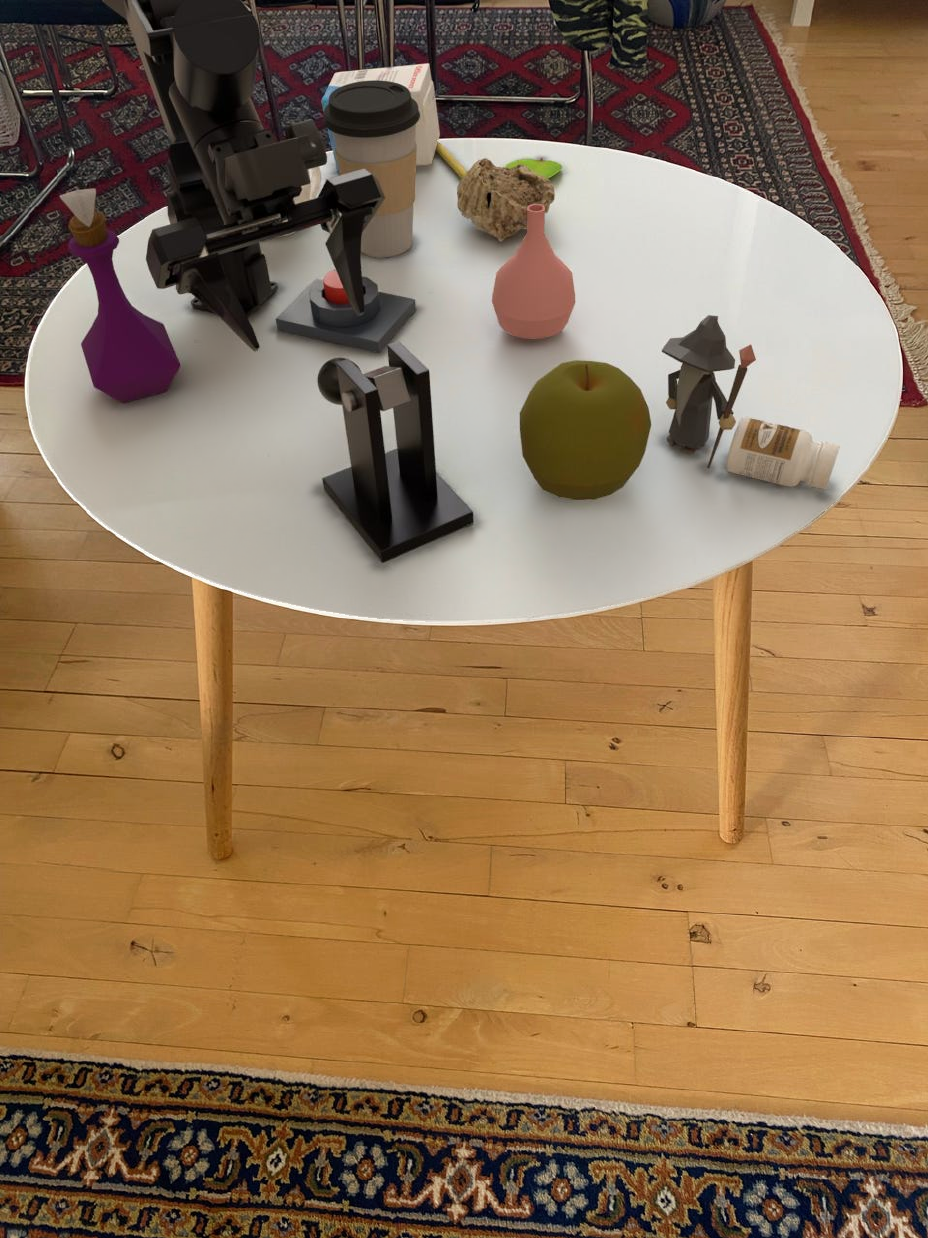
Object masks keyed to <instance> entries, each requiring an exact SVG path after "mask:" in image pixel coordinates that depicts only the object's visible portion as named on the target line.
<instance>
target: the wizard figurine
mask: <svg viewBox="0 0 928 1238" xmlns="http://www.w3.org/2000/svg"><path fill="white" fill-rule="evenodd" d="M738 351H739V352H738V353H739V361H740V364H738V367H737V370H736V373H735V376H734V380H733V383H732V386H731V390H730V393H729V395H728V399H727V397H726V396H725V395H724V393H723V391H722V389H721V388H720V386H719V384H718V383H717V380H716V375H715V372H722V371H730V370H733V369H735V365H736V359H735V357H734V355H733V354H732V353H731V352H730V350H729V349H728V347H727V338H726V334H725V333H724V331H723V329H722V328H721V326H720V324H719V315H710V314H708V315H707V316H705V318H703V319H702V320H701V321H700V322H699V324H698V325H697V326H696V328H695V329H694V330H692V331H690V332H689V333H688V334H686V335H684V336H682V337H671V338H669V339H668V341H667V342H666V343H665V344H664V346H663V348H662V349H661V353H663V354H665V355H667V356H668V357H670V358H672V359H673V360H675V361H677V362H679V363H680V364H681V366H680V369H678V370H676V371H673V372H671V373H668V374H667V395H668V397H667V399H666V401H665V403H666V405H667V407H668V409H669V410H674V413H673V416H672V420H671V423H670V427H669V430H668V433H669V435H668V436H667V437H666V442H668V443H669V445H671V446H672V447H673V446H675V445H679V446H683V449H682V452H684V453H688V454H693V455H694V454H695V453H697V451H698V450H699V449H700V447H704V446H706V444H707V442H708V440H709V438H710V427H711V420H712V419H711V418H712V408H713V400H714V405H715V411H716V417H717V420H718V425H719V428H718V432H717V435H716V438H715V442H714V445H713V447H712V451H711V453H710V457H709V460H708V463H707V469H710V467H711V465H712V462H713V460H714V457H715V454H716V452H717V449H718V447H719V445H720V441H721V438H722V436H723V433H724V431H730V430H731V431H732V429H733V428H734V427H735V426H736V424H737V423H736V422H737V421H736V418H735V416H734V411H733V408H734V405H735V402H736V400H737V397H738V395H739V392H740V390H741V388H742V385H743V382H744V380H745V377H746V374H747V372H748V370H749V369H748V367H749V366H750V365H751V364H752V363H754V362H756V356H755V355H756V354H755V351H754V349H753V345H752V344H749V345H747V346H745V347H743V348H741V349H739V350H738Z"/></svg>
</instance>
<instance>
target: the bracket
mask: <svg viewBox="0 0 928 1238" xmlns="http://www.w3.org/2000/svg"><path fill="white" fill-rule="evenodd" d="M386 352H387V361H388V366H390V367H399V368H401V369H402V372H403V376H404V379H405V382H406V386H407V389H408V393H409V396H410V400H411V401H409V402H407V403H404V404H401V405H399V406H396V407H394V408H392V410H393V420H394V428H395V429H394V430H395V431H394V432H395V441H396V448H395V449H392V450H390V451H386V449H385V439H384V432H383V424H382V423H383V421H382V415H381V411H380V404H379V395H378V389H377V388H376V387H375V386H374V385H373V384H372V383H371V382H370V381H369V379H368V378H367V377H366V376H365V375H364V374H365V373H363V371H362V370H361V369H360V370H361V371H360V370H359V369H358V368H357V367H356V366H355V365H354V364H353V363H352V362H351V361H352V360H351V359H349V358H346V360H343V361H340V362H337V363H336V366H337V373H338V380H339V387H340V393H341V400H342V405H341V407H342V413H343V420H344V421H343V422H344V426H345V434H346V440H347V447H348V455H349V460H350V466H348V467H346V468H344V469H342V470H339V471H337V472H333V473H332V474H329V475H327V476H324V477H322V478H321V480H322V481H321V482H322V487H323V490H324V492H325V493H326V494H327V495H328V497H329V498H330V499H331V500H332V501H333V503H334V504H335V505H336V506H337V508H338V509H339V510H340V512H341V513H342V514H343V515H344V516H345V518H346V520H348V522H349V523H350V524H351V526H353V528H354V529H355V530H356V531H357V533H358V534H359V536H360V537H361V538H362V539H363V541H364V542H365V543H366V545H368V547H369V548H370V550H372V552H373V553H374V554H375V555H376V557H377V558H378V560H379V561H380V562H381V563H385V562H388V561H390V560H393V559H395V558H397V557H399V556H401V555H404V554H406V553H409V552H411V551H413V550H416V549H417V548H419V547H421V546H424V545H426V544H429V543H431V542H434V541H436V540H438V539H440V538H443V537H445V536H447V535H450V534H452V533H454V532H457V531H458V530H461V529H463V528H466V527H468V526H470V525H473V524H474V511H473V510H472V509H471V508H470V507H469V506H468V504H466V503H465V502H464V500H463V499H462V498H461V497H460V496H459V495H458V494H457V493H456V492H455V491H454V490H453V488H452V487H451V486H450V485H449V484H448V483H447V482H446V481H445V480H444V479H443V478H442V477H441V476H440V475H439V474H438V472H437V466H436V465H437V464H436V451H435V435H434V420H433V405H432V404H433V403H432V391H431V389H432V387H431V376H430V375H431V374H430V369H429V368H428V367H427V366H426V365H425V364H424V363H423V362H422V361H421V360H420V359H419V358H417V357H416V356H415V354H414V353H412V352H411V351H410V350H409V349H408V348H407V347H406V346H405V345H404V344H403V343H402V342H401V341H400V340H397V341H394V342H391V343H387V344H386ZM350 360H351V361H350Z"/></svg>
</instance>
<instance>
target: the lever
mask: <svg viewBox="0 0 928 1238" xmlns="http://www.w3.org/2000/svg"><path fill="white" fill-rule="evenodd" d="M346 359H347V357H334V358H331V359H329V360H327V361H326V362H325V363H323V364H322V366H321V367H320V369H319V371H318V374H317V379H316V380H317V381H316V382H317V387H318V391H319V393H320V394H321V396H322V397H323V399H325V400H326V401H328V402H329V403H331V404H333V405H337V406H342V400H341V393H340V387H339V380H338V373H337V366H336V363H337V362H340V361H343V360H346ZM349 360H350V361H351V362H352V363H353V364H354V365H355V366H356V367H357V368H358V369H359V370H360V371H361V372H362V369H361V367H360V366H359V365H358V364H357V363H356V362H354V361H353V360H351V359H349ZM363 374H364V375H365V376H366V377H367V378H368V379H369V381H370V382H371V383H372V384H373V385H374V386H375V387H376V388H377V389H378V395H379V404H380V412H385V411H388V410H391V409H393V408H394V407H396V406H399V405H401V404H404V403H407V402H409V401H411V400H410V396H409V393H408V389H407V386H406V382H405V379H404V376H403V372H402V369H401V368H399V367H390V366H389V365H384V366H382V367H379V368H376V369H373V370H370V371H368V372H365V373H363Z"/></svg>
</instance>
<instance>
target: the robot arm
mask: <svg viewBox="0 0 928 1238" xmlns="http://www.w3.org/2000/svg"><path fill="white" fill-rule="evenodd" d="M101 1H102V2H103V3H104V4H105V5H106V6H108V7H109V8H110V9H112V10H113V11H114V12H115V13H117V14H118V15H119V16H120V17H122V18H123V19H125V20H126V21H127V24H128V26H129V29H130V32H131V34H132V35H131V36H132V38H133V41H134V43H135V45H136V49H137V52H138V54H139V57H140V60H141V62H142V66H143V68H144V71H145V74H146V76H147V79H148V82H149V85H150V88H151V91H152V94H153V97H154V99H155V101H156V105H157V107H158V111H159V112H160V116H161V118H162V121H163V125H164V127H165V129H166V132H167V135H168V138H169V141H170V144H169V145H168V153H167V155H168V160H167V172H168V179H169V187H170V191H169V192H166V202H167V203H166V207H167V218H168V221H169V224H167V225H162V226H159V227H156V228H152V230H151V232H150V235H149V236H148V239H147V247H146V254H145V261H146V265H147V268H148V271H149V273H150V275H151V277H152V280H153V282H154V284H155V287H156V289H158V290H164V289H168V288H171V287H174V286H175V290H176V293H177V294H178V295H185V294H191V296H193V297H194V298H192V299H191V301H190V305H191V307H192V308H195V309H199V310H202V311H203V310H204V311H207V312H211V313H214V314H215V315H217V316H218V317H219V318H220V319H221V321H222V322H224V323H225V324H226V325H227V327H229V329H231V330H232V332H233V333H235V335H236V336H238V338H240V340H241V341H242V342H243V343H244V344H245V345H246V346H247V347H248V348H249V349H250V350H251V351H252V352H254V353H255V352H258V351H259V350H260V343H259V340H258V338H257V334H256V333H255V330H254V328H253V325H252V323H251V322H250V319H249V318H248V317H250V316H251V315H252V314H253V313H254V312H255V311H256V310H257V309H259V307H260V306H261V305H262V304H263V303H264V302H265V301H267V299H269V298H270V297H271V296H272V295H273V294H274V293H275V292H276V291H277V290H278V288H279V286H278V282H275V281H271V279H270V274H269V268H268V263H267V257H266V255H265V254H264V253H262V249H261V243H262V242H265V241H270V240H272V239H276V238H279V236H282V235H286V234H289V233H292V232H295V233H297V232H298V231H303V230H305V229H308V228H312V227H315V226H318V225H320V228H321V230H322V231H324V232H326V233H328V234H329V236H328V238H327V240H326V241H325V243H324V245H325V247H326V249H327V252H328V254H329V257H330V259H331V261H332V264H333V267H334V270H336V271H337V273H338V276H339V278H340V281H341V283H342V285H343V288H344V290H345V293H346V295H347V297H348V300H349V302H350V304H351V305H352V307H353V309H354V311H355V312H356V314H357V315H358V316H360V315H362V314H363V313H364V312H365V306H364V293H363V281H362V276H363V270H362V269H363V268H362V252H361V238H362V233H363V231H364V230H365V228H366V227H367V225H368V224H369V222H370V221H371V219H372V218H373V216H374V215H375V213H376V212H377V210H378V209H379V207H380V206H381V204H382V203H383V201H384V199H385V196H384V193H383V191H382V188H381V186H380V183H379V181H378V179H377V178H376V177H375V176H374V175H372V174H371V173H370V172H369V171H367V170H366V169H365V168H364V169H361V170H357V171H354V172H350V173H347V174H343V175H340V174H339V175H337V176H333V177H329V178H326V180H325V181H324V184H323V186H322V188H321V190H320V191H319V194H318V196H317V197H316V198H315V199H311V200H308V201H305V202H301V203H298V204H295V202H294V200H293V198H294V197H297V196H300V194H301V191H302V187H301V186H304V185H307V184H311V182H312V180H311V176H310V177H309V174H310V173H309V174H308V171H307V170H308V169H309V170H311V169H312V168H315V167H319V168H320V167H322V166H325V165H327V163H328V154H327V152H326V147H325V144H324V142H323V138H322V136H321V134H320V132H319V129H318V127H317V125H316V123H315V121H314V119H313V118H309V119H306V120H303V121H302V120H301V121H298V122H295V123H292V124H290V125H287V126H285V127H284V134H285V140H280V141H278V142H276V141H277V140H276V139H275V137H274V134H273V133H272V132H271V130H270V128H269V127H267V128H264V126H263V124H262V122H261V120H260V117H259V114H258V113H257V112H258V111H257V110H256V108H255V105H254V103H253V101H252V98H251V97H252V95H253V93H254V91H255V82H256V74H257V66H258V65H257V64H258V58H259V49H260V38H261V35H260V28H259V24H258V22H257V20H256V17H255V16H254V15H253V11H252V9H251V8H250V7H248V5H246V3H245V2H243V1H242V0H101ZM287 219H288V221H287V222H283V221H285V220H287ZM276 224H277V225H276ZM296 231H297V232H296ZM282 237H283V236H282Z"/></svg>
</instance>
